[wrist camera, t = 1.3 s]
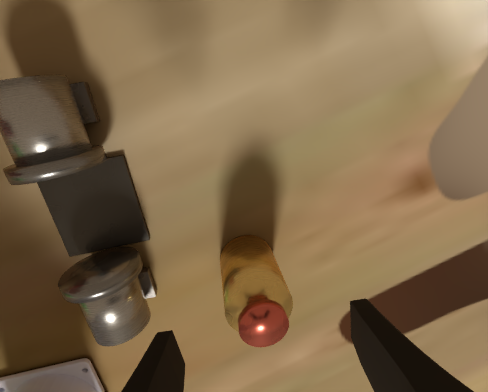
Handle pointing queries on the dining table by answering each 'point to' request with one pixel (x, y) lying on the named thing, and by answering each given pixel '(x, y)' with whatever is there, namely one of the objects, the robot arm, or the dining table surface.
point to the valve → (254, 291)
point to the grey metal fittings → (81, 200)
